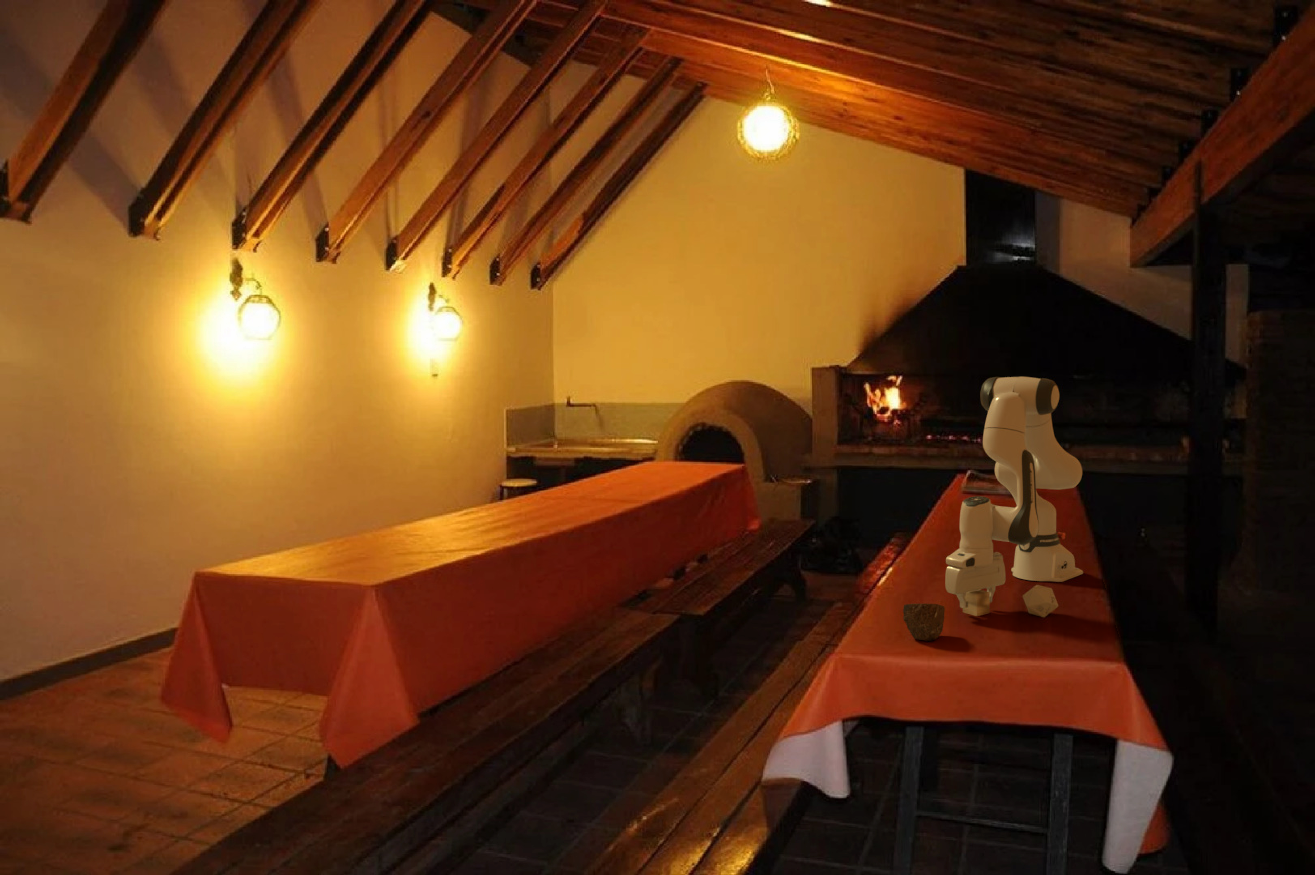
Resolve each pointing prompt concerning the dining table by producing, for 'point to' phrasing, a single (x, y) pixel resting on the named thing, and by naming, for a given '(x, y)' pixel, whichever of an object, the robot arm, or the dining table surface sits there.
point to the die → (1040, 601)
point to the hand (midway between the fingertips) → (976, 604)
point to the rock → (924, 620)
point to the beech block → (977, 602)
